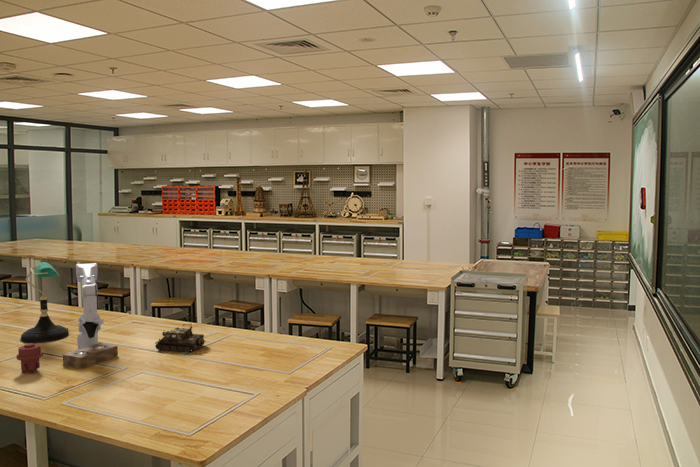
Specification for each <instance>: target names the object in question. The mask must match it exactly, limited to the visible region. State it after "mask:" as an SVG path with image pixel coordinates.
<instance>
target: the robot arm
mask: <svg viewBox="0 0 700 467" xmlns="http://www.w3.org/2000/svg"><path fill="white" fill-rule="evenodd" d="M75 274H76V275H75V276H76V280H77V282H79V283H80V284H81V294H82V295H81V296H82V302H83V313H82V314H81V315H79V317H78V332H79V333H78V334H77V338H76V339H77V348H76V349H75V350H79V349H82V348H85V347H88V346H92V345H95V344H98V343H99V331H100V330H101V329H102V328H101V327H102V326H101V325H103V324H104V319H101V318H100V317H101V316H100V314H98V304H97V302H98V301H97V300H98V298H97V296H98V294H99V293H98V284H97V283H96V281H97V279H98V274H99V273H98V263H96V262H94V263H91V262H90V263H77V264H75Z"/></svg>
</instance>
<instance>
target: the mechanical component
mask: <svg viewBox="0 0 700 467" xmlns="http://www.w3.org/2000/svg"><path fill="white" fill-rule="evenodd" d="M17 350H18V352H17V353H18V354H17V355H16V356H15V357H16V360H18V361H20V367H21V368H20V370H21V374H22V375H23V374H36V373H37V372H38V369H39V368H41V367H40V364H41V363H40V359H41V358H42V357H43V356H44V351H42V348H41V344H39V343H26V344H24V345H21V346H20V347H18V349H17Z"/></svg>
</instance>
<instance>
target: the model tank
mask: <svg viewBox="0 0 700 467" xmlns="http://www.w3.org/2000/svg"><path fill="white" fill-rule="evenodd" d="M185 326H186V323H185V324H184V323H183V324H182V326H181V327H179V326H178V327H175V328H174V329H171V330H170V331H169V330H167V331H162V333H161V334H162V336H163V337H162V338H159V339H158V340H157V341H155V343H154V344H155V348H156V350H158V351H160V352H166V353H167V352H171V353H172V352H173V353H192V352H195V351H196V350H197V348H199V347H202V346H204V345H205V343H206V342H207V341H206V340H205V335H204V334H199V333H193V326H192V323H189V324H188V326H189V328H185Z"/></svg>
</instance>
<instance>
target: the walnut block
mask: <svg viewBox="0 0 700 467" xmlns="http://www.w3.org/2000/svg"><path fill="white" fill-rule="evenodd" d="M98 346H104V348H101V349H95V347H98ZM118 350H119V349H118V345H115V344H114V345H113V344H108V343H102V342H101V343H100V342H98V344H95V345H92V346H88V347H85V348H82V349H79V350H76V349H75V350H72V351H70V352H66V353H63V354H62V365H63V366H66V367H71V368H77V369H80V368H81V370H82V369H84V368H88V367H91V366H94V365H96V364H100V363H102V362H105V361H108V360H110V359H113V358H116V357H118V356H119V354H118V352H119V351H118ZM79 352H86V354H83V355H77V353H79Z"/></svg>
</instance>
